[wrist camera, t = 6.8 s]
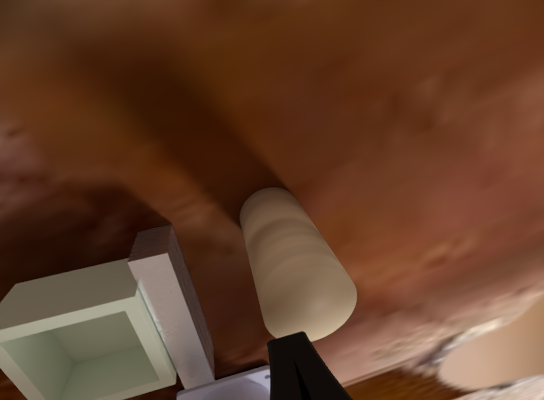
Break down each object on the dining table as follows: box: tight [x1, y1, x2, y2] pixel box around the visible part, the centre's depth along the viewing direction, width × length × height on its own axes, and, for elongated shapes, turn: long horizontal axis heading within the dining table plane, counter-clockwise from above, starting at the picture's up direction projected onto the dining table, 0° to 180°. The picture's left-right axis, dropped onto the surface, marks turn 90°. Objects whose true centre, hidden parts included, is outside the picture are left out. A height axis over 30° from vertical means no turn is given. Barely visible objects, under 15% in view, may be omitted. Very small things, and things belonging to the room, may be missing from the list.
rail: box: [127, 224, 215, 390], centre depth 19 cm, size 11×2×3 cm, turn 8°
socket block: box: [0, 258, 177, 400], centre depth 18 cm, size 8×8×4 cm
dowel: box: [240, 187, 357, 342], centre depth 16 cm, size 4×4×8 cm
